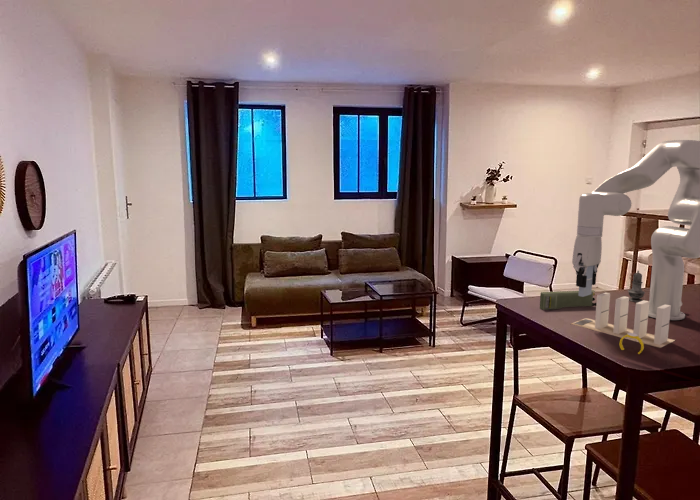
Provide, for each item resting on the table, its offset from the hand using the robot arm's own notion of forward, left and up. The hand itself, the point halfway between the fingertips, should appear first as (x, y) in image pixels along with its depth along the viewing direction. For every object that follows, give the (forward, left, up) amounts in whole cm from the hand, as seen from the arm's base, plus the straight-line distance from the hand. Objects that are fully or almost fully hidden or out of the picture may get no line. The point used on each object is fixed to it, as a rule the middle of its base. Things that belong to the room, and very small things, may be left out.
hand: (585, 284), depth 166 cm
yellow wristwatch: (+14, +22, -14) cm, 30 cm away
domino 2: (0, +6, -13) cm, 14 cm away
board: (0, +12, -14) cm, 18 cm away
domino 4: (0, +18, -13) cm, 22 cm away
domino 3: (0, +12, -13) cm, 18 cm away
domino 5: (0, +24, -13) cm, 27 cm away
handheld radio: (-16, -13, -14) cm, 25 cm away
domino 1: (0, 0, -3) cm, 3 cm away
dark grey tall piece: (-43, -3, -14) cm, 46 cm away
